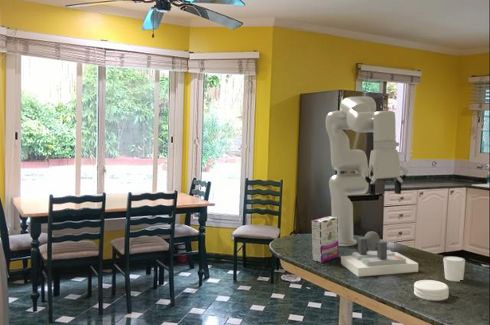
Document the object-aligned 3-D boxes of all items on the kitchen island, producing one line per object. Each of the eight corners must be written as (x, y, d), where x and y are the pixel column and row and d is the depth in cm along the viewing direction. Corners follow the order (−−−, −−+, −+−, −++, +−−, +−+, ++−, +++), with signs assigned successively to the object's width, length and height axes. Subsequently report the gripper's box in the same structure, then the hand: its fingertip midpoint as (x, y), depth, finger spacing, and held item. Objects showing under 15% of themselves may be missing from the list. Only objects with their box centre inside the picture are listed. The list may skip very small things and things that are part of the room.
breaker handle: (377, 257, 170) (377, 241, 169) (383, 256, 170) (383, 240, 170) (380, 259, 167) (380, 242, 167) (386, 258, 167) (386, 242, 167)
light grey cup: (448, 274, 163) (448, 254, 163) (468, 278, 158) (468, 258, 158) (439, 279, 159) (439, 259, 158) (460, 283, 154) (460, 262, 153)
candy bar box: (329, 255, 192) (328, 215, 191) (339, 257, 188) (338, 217, 187) (311, 260, 184) (310, 219, 183) (321, 263, 181) (320, 221, 180)
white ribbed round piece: (437, 289, 150) (437, 278, 149) (455, 300, 140) (455, 288, 139) (408, 291, 148) (408, 280, 148) (423, 302, 138) (423, 291, 138)
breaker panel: (341, 263, 179) (340, 237, 178) (396, 259, 183) (396, 233, 182) (358, 276, 163) (357, 247, 162) (418, 271, 167) (418, 243, 166)
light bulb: (380, 257, 186) (380, 233, 185) (364, 257, 187) (364, 232, 187) (379, 253, 192) (378, 229, 191) (364, 253, 193) (363, 229, 192)
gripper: (401, 145, 168) (402, 192, 169) (357, 146, 165) (357, 194, 166) (412, 145, 161) (413, 194, 162) (366, 146, 158) (367, 196, 159)
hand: (385, 194), depth 164 cm, fingers open, 9 cm apart
